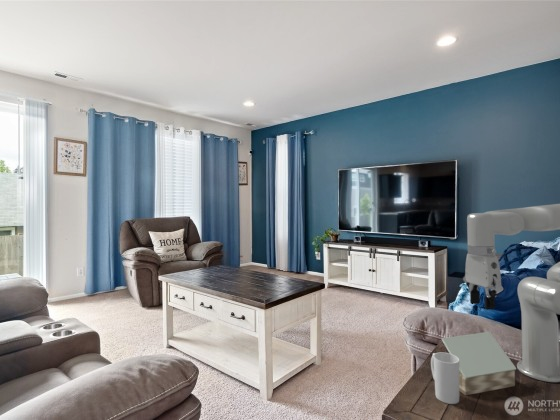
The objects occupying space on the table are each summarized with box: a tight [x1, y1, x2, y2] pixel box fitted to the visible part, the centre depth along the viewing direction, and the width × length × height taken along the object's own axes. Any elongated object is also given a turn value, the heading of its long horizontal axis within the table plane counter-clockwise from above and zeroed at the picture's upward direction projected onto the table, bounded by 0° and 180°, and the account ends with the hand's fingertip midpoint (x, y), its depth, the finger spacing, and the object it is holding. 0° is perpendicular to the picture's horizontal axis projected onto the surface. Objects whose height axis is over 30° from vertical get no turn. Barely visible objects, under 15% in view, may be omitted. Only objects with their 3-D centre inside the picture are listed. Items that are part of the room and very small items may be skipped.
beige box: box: [459, 370, 516, 396], centre depth 104 cm, size 18×13×5 cm
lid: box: [441, 331, 517, 379], centre depth 102 cm, size 18×12×1 cm
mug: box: [430, 351, 460, 405], centre depth 97 cm, size 10×7×12 cm, turn 12°
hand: (482, 305), depth 106 cm, fingers open, 5 cm apart
